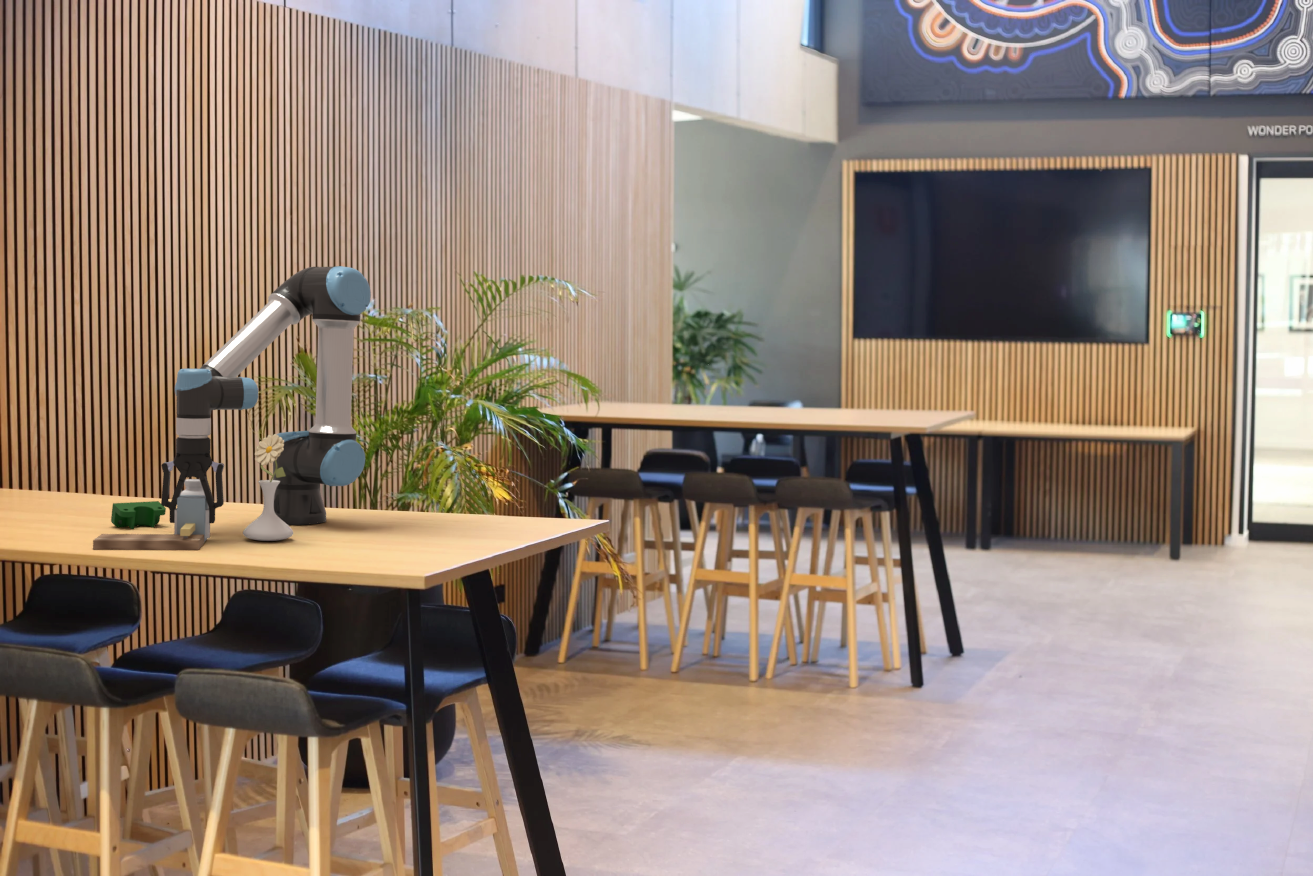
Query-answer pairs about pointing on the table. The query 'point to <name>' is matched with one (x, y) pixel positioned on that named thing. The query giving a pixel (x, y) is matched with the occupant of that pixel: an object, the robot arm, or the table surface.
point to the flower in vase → (269, 495)
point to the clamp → (137, 514)
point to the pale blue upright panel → (191, 515)
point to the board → (148, 542)
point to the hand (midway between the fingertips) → (192, 537)
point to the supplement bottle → (193, 487)
